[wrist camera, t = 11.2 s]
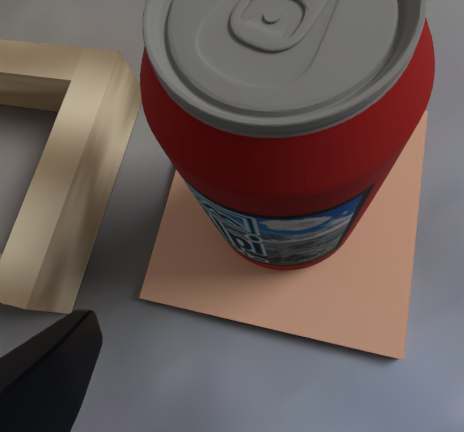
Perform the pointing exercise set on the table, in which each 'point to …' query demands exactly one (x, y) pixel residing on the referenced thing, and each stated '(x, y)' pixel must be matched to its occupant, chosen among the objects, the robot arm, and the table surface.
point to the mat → (302, 280)
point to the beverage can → (285, 112)
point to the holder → (64, 165)
